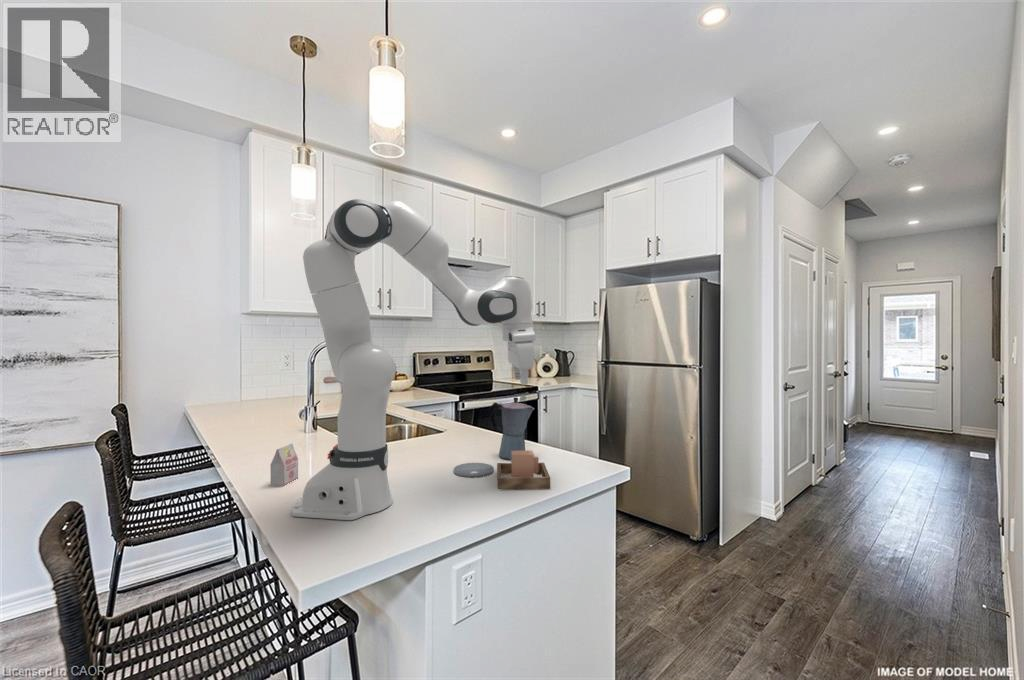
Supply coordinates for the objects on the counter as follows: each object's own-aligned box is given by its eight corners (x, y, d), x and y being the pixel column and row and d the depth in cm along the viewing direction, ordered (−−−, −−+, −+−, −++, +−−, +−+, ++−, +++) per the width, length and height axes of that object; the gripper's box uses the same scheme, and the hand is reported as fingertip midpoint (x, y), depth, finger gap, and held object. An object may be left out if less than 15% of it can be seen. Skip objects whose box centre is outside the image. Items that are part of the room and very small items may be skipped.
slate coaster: (451, 477, 128) (451, 475, 128) (455, 465, 140) (455, 462, 140) (493, 477, 129) (493, 474, 129) (493, 465, 141) (493, 462, 141)
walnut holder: (497, 489, 119) (497, 478, 119) (497, 473, 133) (497, 463, 133) (550, 489, 119) (550, 477, 119) (544, 472, 133) (544, 462, 133)
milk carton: (270, 486, 121) (270, 449, 121) (286, 478, 128) (285, 443, 127) (283, 486, 120) (283, 450, 120) (298, 478, 127) (298, 443, 127)
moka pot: (534, 461, 145) (535, 399, 145) (487, 460, 145) (487, 399, 145) (533, 453, 155) (534, 395, 154) (489, 452, 155) (489, 395, 155)
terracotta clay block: (512, 483, 124) (512, 454, 124) (511, 478, 128) (511, 450, 128) (538, 483, 124) (539, 454, 124) (537, 478, 129) (537, 450, 128)
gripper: (501, 333, 137) (504, 377, 138) (513, 336, 117) (516, 388, 118) (521, 331, 138) (524, 375, 139) (536, 334, 118) (539, 386, 119)
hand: (520, 381), depth 129 cm, fingers open, 8 cm apart
